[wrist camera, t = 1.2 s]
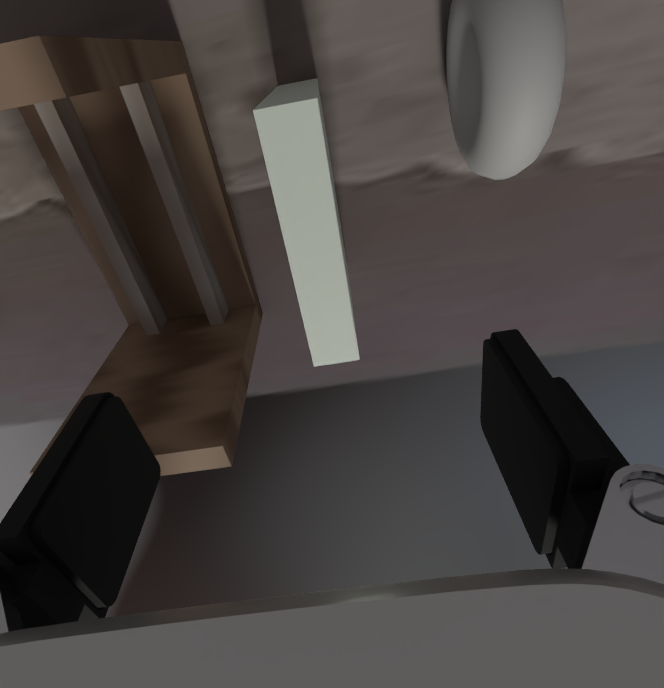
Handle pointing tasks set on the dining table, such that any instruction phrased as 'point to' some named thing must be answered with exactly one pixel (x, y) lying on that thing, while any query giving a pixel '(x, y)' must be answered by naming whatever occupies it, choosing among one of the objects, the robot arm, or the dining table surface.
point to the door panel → (309, 216)
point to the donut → (504, 80)
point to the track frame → (148, 232)
